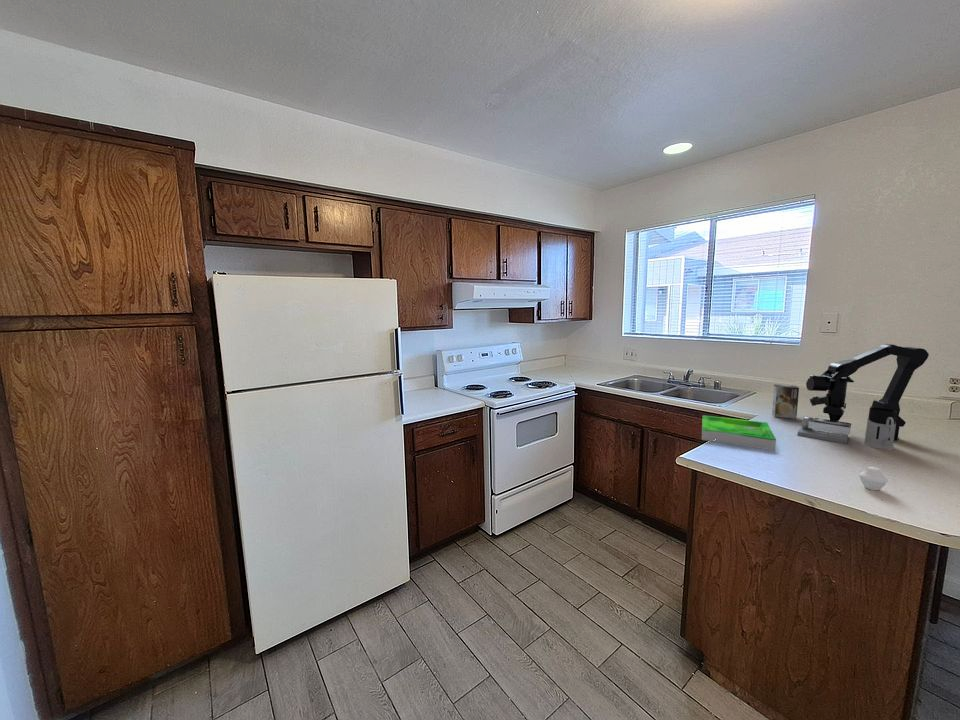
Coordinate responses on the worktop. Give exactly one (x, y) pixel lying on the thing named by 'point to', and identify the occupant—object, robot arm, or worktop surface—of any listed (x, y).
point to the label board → (824, 435)
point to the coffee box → (785, 401)
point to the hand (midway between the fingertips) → (832, 426)
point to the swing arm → (826, 425)
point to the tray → (738, 432)
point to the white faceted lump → (873, 478)
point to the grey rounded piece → (880, 428)
